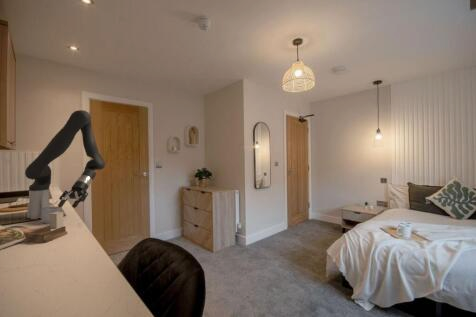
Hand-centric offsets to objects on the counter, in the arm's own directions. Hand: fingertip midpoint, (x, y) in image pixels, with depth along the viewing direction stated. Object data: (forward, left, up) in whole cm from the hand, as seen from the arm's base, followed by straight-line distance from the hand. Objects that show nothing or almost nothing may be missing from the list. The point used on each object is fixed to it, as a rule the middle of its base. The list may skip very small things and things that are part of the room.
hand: (66, 207), depth 123 cm
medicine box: (-11, +4, -10) cm, 16 cm away
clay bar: (-1, -6, -10) cm, 11 cm away
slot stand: (+5, -21, -10) cm, 23 cm away
